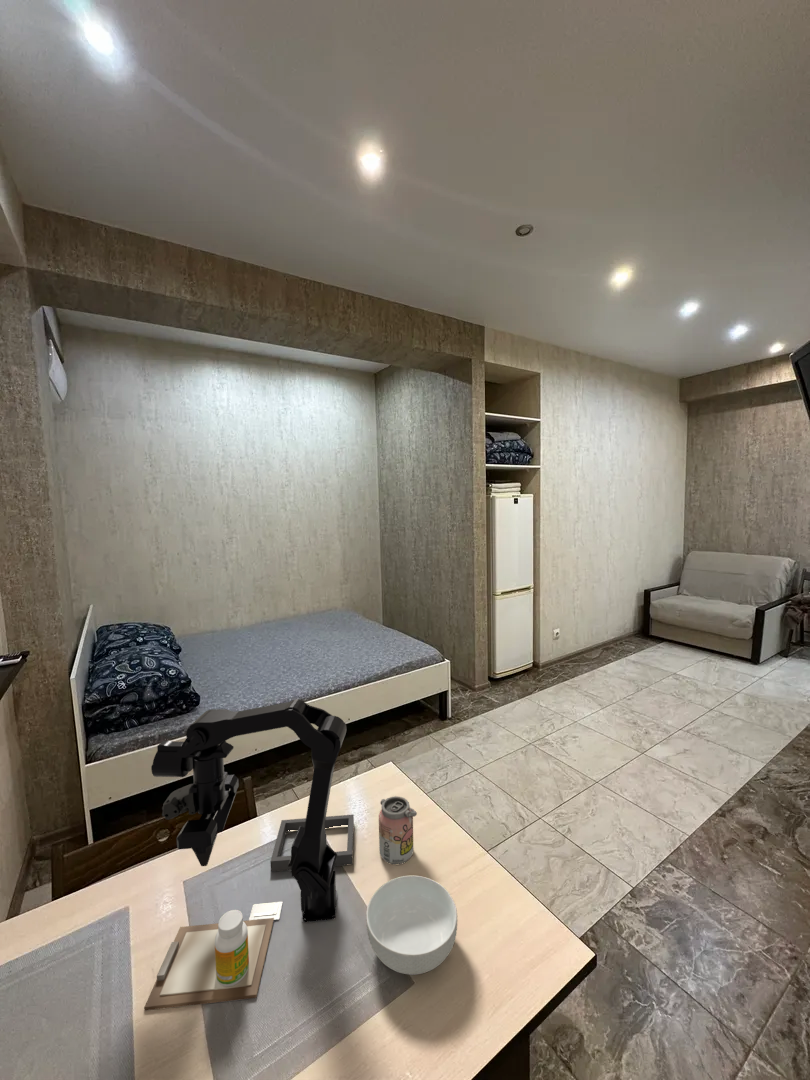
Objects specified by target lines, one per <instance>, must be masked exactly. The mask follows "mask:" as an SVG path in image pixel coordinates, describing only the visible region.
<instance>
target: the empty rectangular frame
mask: <svg viewBox="0 0 810 1080" xmlns="http://www.w3.org/2000/svg"><path fill="white" fill-rule="evenodd" d="M354 817H355V815H354V813H352V814H344V815H343V814H342V815H330V816H326V819H325V828H329V827H333V826H341V825H348V827H347V840H346V841H347V842H346V845H347V846H346V850H342V851H341V850H340V851H335V852H336V853H337V858H336V862H335V866H334V867H341V866H348V865H347V864H352V865H353V858H352V856H353V855H354V854H353V853H354V852H353V851H354V831H353V827H354V826H355V822H354ZM305 821H306V817H304V818H293V819H290V818H289V819H282V820H281V822H280V825H279V828H278V832H277V836H276V840H275V843H274V847H273V850H272V854H271V858H270V872H271V873H272V872H274V873H275V872H284V871H291V866H290V867H288V864H289V862H290V859H291V855H282V856H281V854H282V849H283V845H284V842H285V837H286V834H285V833H287V832H286V831H288V830H289V831H290V830H298V829H299V827H300V826H302V827H305ZM354 828H355V827H354Z"/></svg>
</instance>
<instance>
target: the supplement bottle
mask: <svg viewBox="0 0 810 1080" xmlns="http://www.w3.org/2000/svg"><path fill="white" fill-rule="evenodd" d="M243 917H244V916H243V913H242V911H240V910H238V909H231V910H228V911H226V912H225V913H224V914H222V915H221V917H220V918H219V920H218V932H217V934H216V937H215V959H216V978H217V981H218V983H219V984H220V985H221V986H225V987H229V986H233V985H235V984H237V983H238V982H240V981H241V980H242V979H243V978H244V976H245V975H246V973H247V971H248V968H249V951H248V930H247V926H246V924H245V923H244V922H243V921H244V920H243V919H244V918H243Z"/></svg>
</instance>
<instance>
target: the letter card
mask: <svg viewBox="0 0 810 1080" xmlns="http://www.w3.org/2000/svg"><path fill="white" fill-rule="evenodd" d="M282 908H283V901H274V902H265V903H254V904H252V908H251V911H250V914H249V918H248V920H257V919H267V918H274V922H275V921H280V917H281V912H282Z"/></svg>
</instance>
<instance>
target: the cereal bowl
mask: <svg viewBox="0 0 810 1080" xmlns="http://www.w3.org/2000/svg"><path fill="white" fill-rule="evenodd" d="M451 895H452V894H451V893H450V892H449V891H448V890H447V889H446V888H445V887H444V886H443V885H442V884H441V883H439V882H437V881H436V880H433V879H432V878H429V877H425V876H421V875H413V874H412V875H402V876H399V877H396V878H392V879H390V880H388V881H386V882H385V883H383V884H382V885H380V886H379V888H378V889H377V890H376V891H375V892H374V893H373V894H372V897H370V900H369V902H368V905H367V908H366V914H365V922H366V931H367V937H368V940H369V944H370V946H371V948H372V950H373V952H374V953H375V955H376V957H377V958H378V959H379V960H380V962H382V964H384V965H385V966H386V967H388V968H389V969H391V970H393V971H395V972H397V973H400V974H403V975H404V974H405V975H411V976H413V975H422V974H424V973H427V972H431V971H433V970H434V969H436V968H438V966H439V965H441V964H442V963H443V962H444V961H445V960H446V958H448V956H449V954H450V953H451V951H452V949H453V948H454V947H453V946H454V944H455V941H456V937H457V931H458V910H457V906H456V903H455V900H454V899H453V897H452V896H451Z"/></svg>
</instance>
